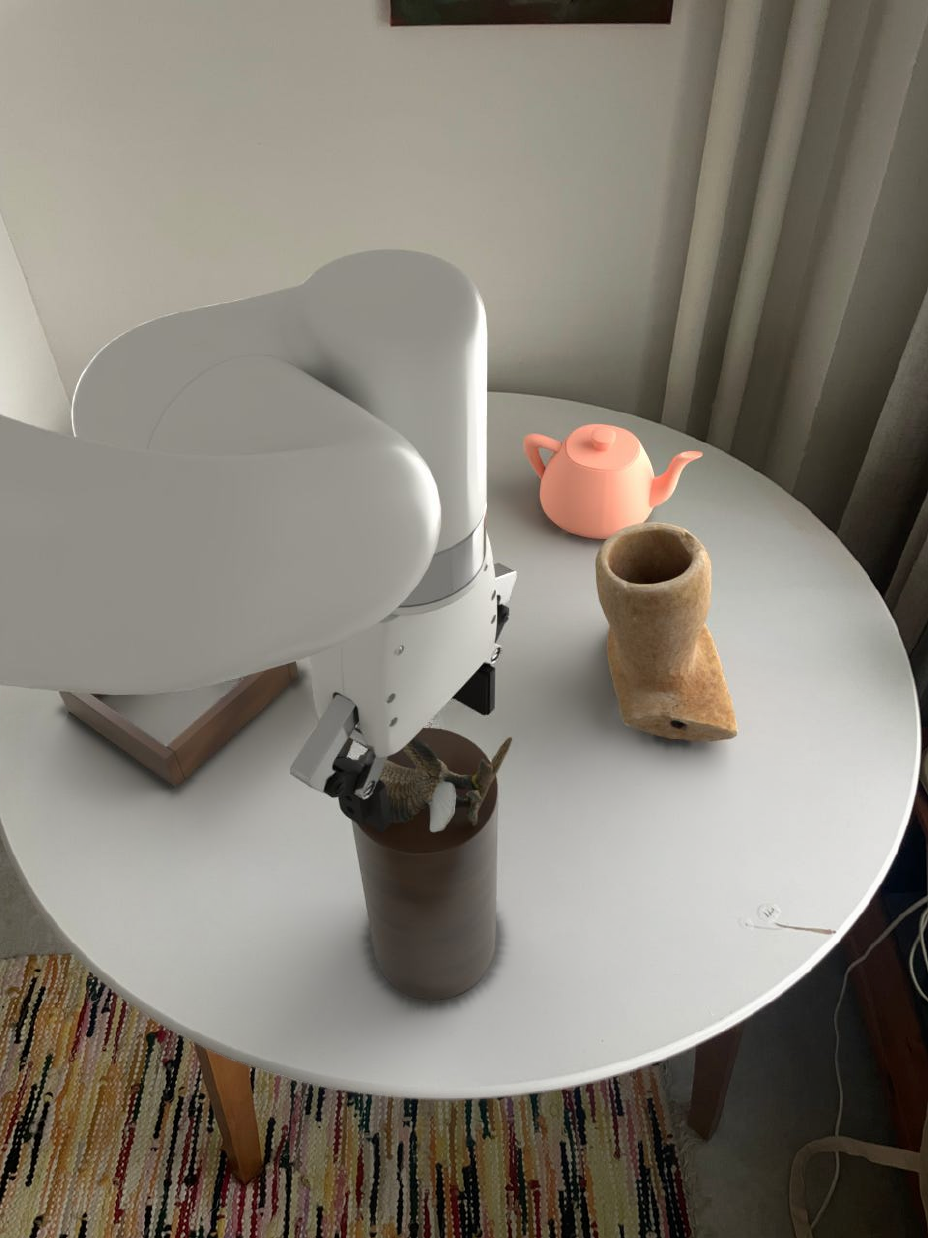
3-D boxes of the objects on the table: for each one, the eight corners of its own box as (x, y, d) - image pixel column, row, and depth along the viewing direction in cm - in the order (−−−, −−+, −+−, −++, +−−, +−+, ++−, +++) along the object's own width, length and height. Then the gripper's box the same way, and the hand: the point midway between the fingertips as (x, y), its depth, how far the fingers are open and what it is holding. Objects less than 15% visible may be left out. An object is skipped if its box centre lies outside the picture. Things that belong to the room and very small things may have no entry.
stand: (446, 1025, 71) (437, 883, 57) (348, 953, 75) (315, 802, 61) (519, 927, 76) (527, 773, 62) (424, 864, 80) (410, 704, 65)
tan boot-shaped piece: (579, 622, 97) (591, 501, 86) (704, 619, 97) (732, 498, 86) (595, 753, 87) (611, 634, 76) (736, 750, 87) (772, 631, 76)
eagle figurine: (517, 741, 62) (385, 678, 63) (511, 736, 55) (363, 665, 56) (463, 857, 61) (330, 791, 63) (450, 868, 54) (301, 793, 56)
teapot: (535, 458, 114) (539, 386, 108) (697, 487, 111) (711, 414, 104) (506, 528, 107) (508, 455, 100) (679, 562, 103) (694, 489, 96)
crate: (176, 788, 85) (165, 760, 82) (67, 710, 91) (53, 681, 88) (299, 675, 93) (293, 646, 90) (192, 610, 99) (183, 581, 96)
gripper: (451, 412, 53) (457, 637, 65) (205, 611, 43) (267, 829, 56) (576, 466, 49) (557, 691, 62) (339, 692, 40) (373, 904, 53)
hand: (420, 756), depth 59 cm, fingers open, 9 cm apart
